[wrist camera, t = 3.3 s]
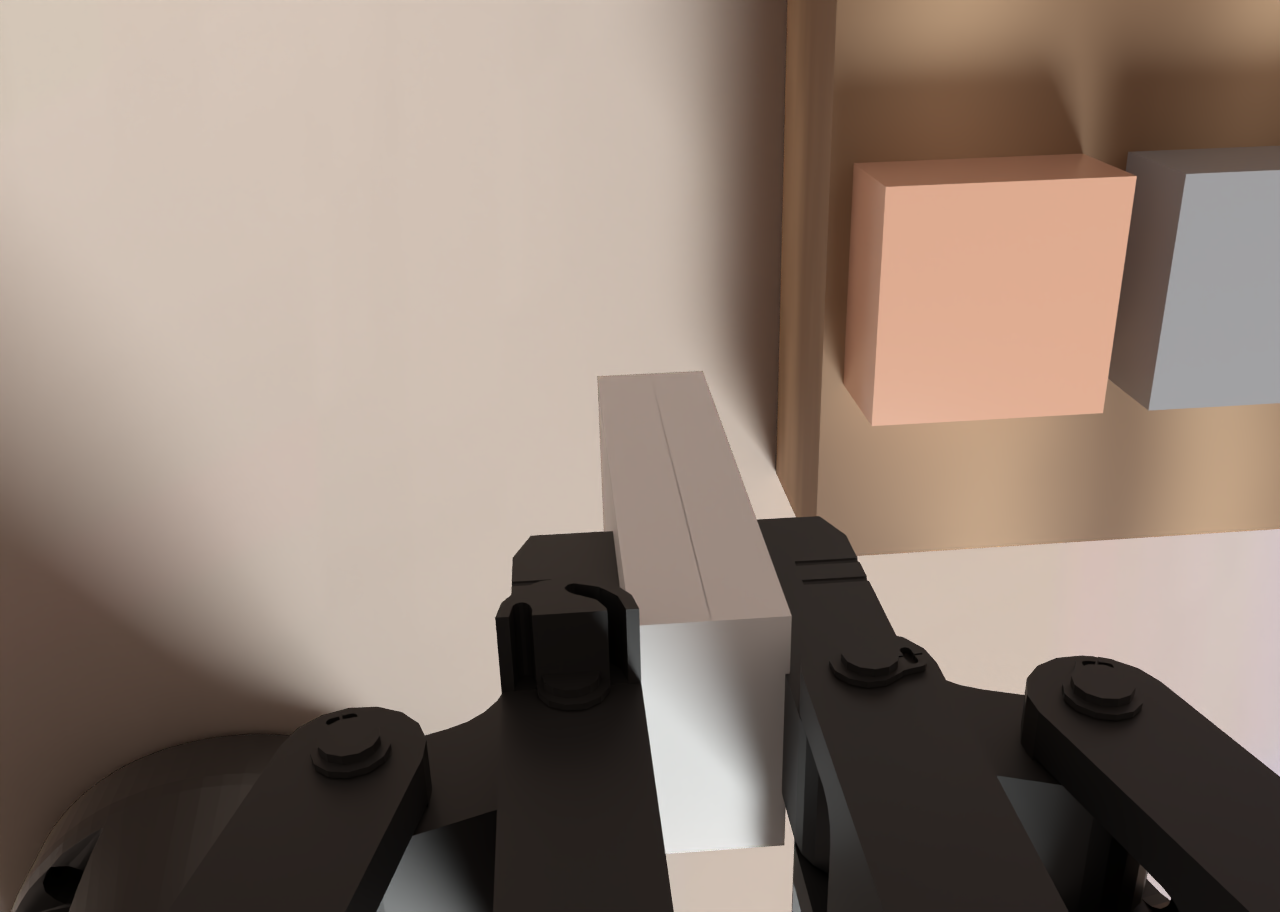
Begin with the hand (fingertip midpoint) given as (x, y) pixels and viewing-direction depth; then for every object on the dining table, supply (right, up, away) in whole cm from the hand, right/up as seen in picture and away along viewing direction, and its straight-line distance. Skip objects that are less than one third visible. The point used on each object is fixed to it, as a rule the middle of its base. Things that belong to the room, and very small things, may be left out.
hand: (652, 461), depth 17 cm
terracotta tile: (+7, +4, +9) cm, 12 cm away
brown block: (+9, +6, +14) cm, 18 cm away
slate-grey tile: (+13, +5, +10) cm, 17 cm away
